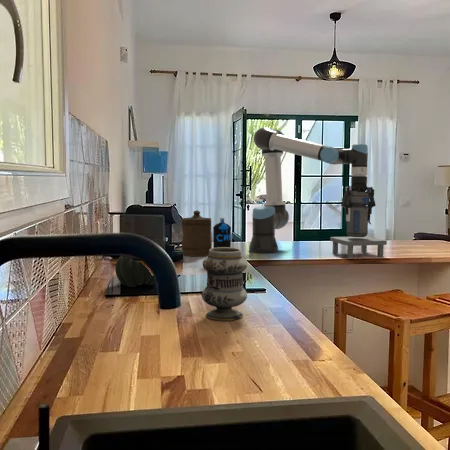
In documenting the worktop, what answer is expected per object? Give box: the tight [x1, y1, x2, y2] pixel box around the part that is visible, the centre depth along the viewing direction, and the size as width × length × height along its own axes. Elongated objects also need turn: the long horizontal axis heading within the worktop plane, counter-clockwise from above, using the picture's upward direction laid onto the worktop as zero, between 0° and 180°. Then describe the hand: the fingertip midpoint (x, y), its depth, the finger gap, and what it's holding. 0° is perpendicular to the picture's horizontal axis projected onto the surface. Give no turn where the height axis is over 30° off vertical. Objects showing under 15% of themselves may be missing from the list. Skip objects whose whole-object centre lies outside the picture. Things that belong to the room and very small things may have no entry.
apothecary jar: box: [201, 247, 248, 322], centre depth 128 cm, size 12×12×18 cm
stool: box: [329, 235, 388, 259], centre depth 240 cm, size 20×20×8 cm
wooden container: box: [181, 210, 213, 257], centre depth 240 cm, size 15×15×22 cm
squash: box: [114, 255, 155, 288], centre depth 168 cm, size 14×15×15 cm
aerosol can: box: [212, 217, 232, 248], centre depth 215 cm, size 8×8×20 cm
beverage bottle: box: [346, 185, 375, 237], centre depth 238 cm, size 10×13×25 cm
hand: (358, 221), depth 239 cm, fingers closed on beverage bottle, 10 cm apart
